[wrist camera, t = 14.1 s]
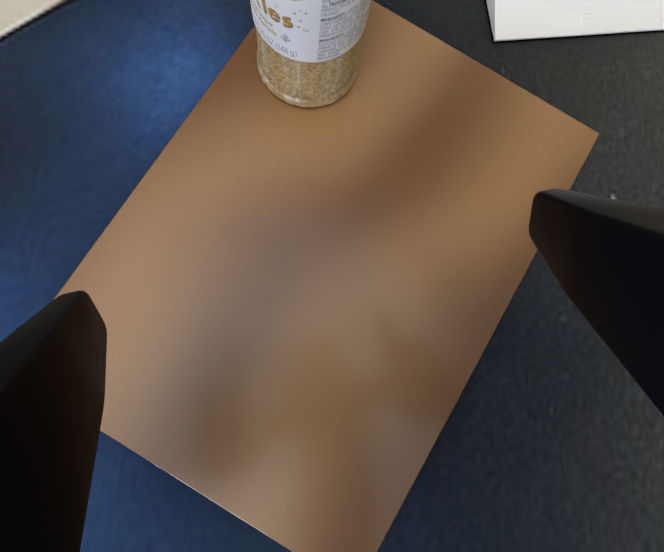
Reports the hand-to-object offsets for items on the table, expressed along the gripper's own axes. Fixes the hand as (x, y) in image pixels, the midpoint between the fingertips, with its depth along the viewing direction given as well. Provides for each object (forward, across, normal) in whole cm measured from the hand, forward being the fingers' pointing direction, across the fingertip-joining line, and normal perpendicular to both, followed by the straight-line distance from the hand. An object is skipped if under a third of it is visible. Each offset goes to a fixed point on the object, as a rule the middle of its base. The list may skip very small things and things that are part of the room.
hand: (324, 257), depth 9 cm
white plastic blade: (+16, -19, -1) cm, 25 cm away
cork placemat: (+9, -1, +6) cm, 11 cm away
